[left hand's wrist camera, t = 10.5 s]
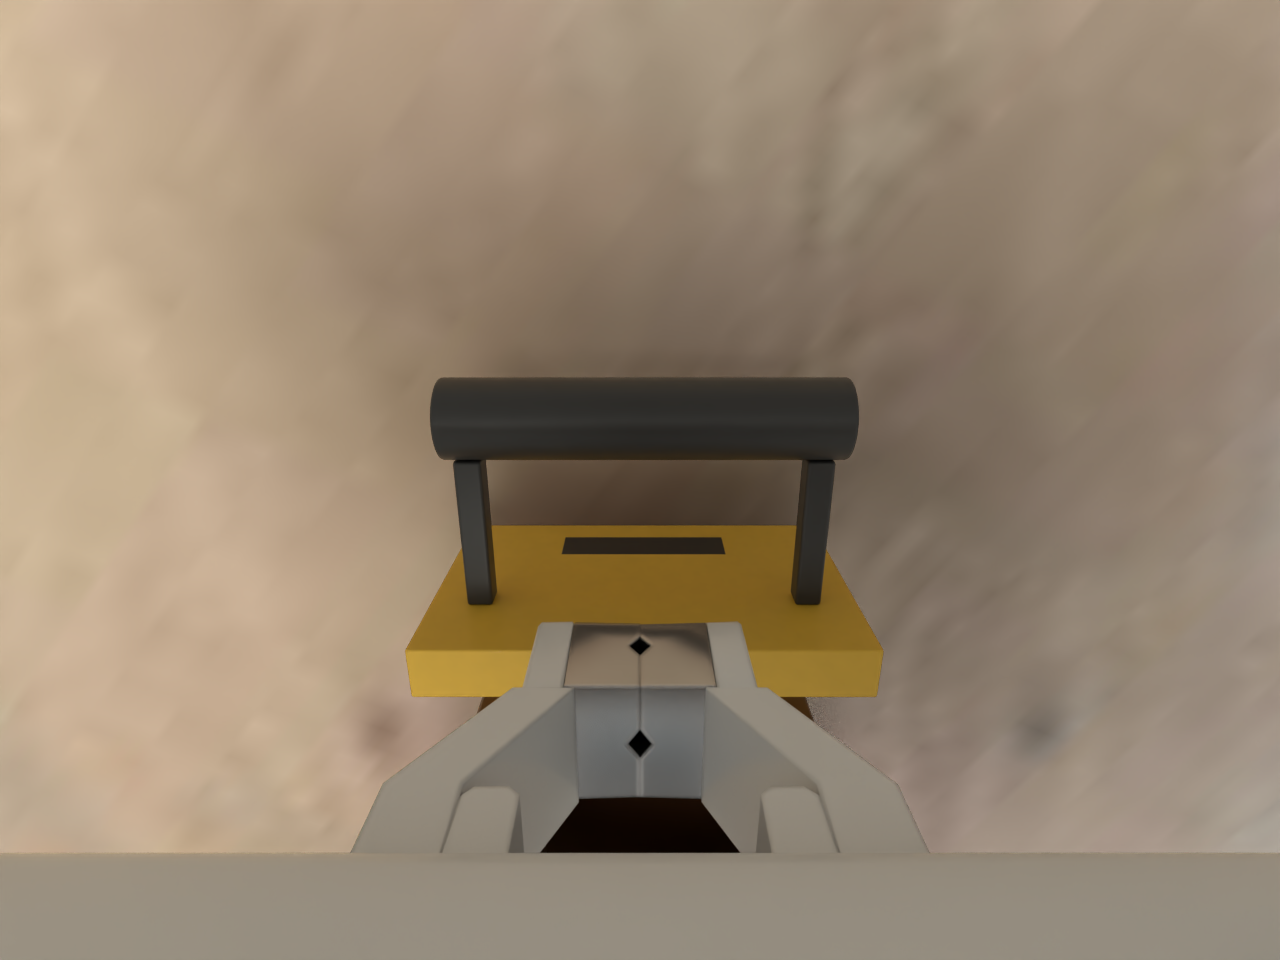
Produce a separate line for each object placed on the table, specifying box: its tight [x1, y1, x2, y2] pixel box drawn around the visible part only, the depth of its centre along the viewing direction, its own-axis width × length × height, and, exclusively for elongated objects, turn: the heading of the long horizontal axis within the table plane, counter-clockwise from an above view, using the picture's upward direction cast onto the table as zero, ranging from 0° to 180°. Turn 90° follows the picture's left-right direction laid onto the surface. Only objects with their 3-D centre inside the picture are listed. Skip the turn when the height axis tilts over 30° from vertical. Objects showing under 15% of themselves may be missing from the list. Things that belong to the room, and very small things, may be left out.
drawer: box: [405, 378, 884, 853], centre depth 19 cm, size 22×10×6 cm, turn 0°
